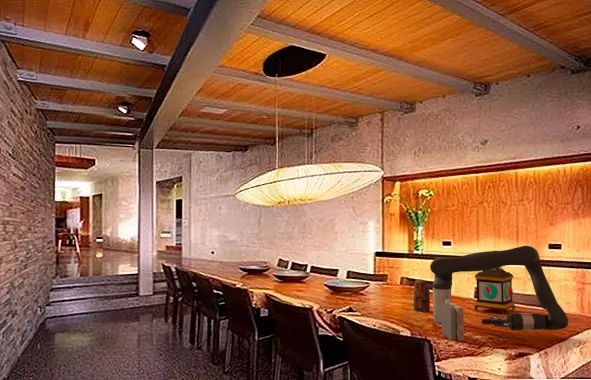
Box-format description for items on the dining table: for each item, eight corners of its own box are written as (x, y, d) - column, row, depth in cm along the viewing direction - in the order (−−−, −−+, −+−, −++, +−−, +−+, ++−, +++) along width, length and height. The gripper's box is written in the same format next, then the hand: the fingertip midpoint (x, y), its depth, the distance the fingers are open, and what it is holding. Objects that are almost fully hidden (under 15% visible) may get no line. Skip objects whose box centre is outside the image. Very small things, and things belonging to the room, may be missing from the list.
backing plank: (440, 331, 226) (439, 299, 227) (450, 331, 226) (449, 299, 226) (451, 340, 209) (450, 305, 210) (462, 340, 209) (461, 305, 210)
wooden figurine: (409, 309, 281) (409, 278, 282) (417, 308, 284) (416, 278, 286) (425, 312, 271) (424, 281, 272) (432, 311, 275) (432, 280, 276)
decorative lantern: (518, 310, 277) (516, 259, 279) (507, 315, 263) (505, 261, 265) (483, 306, 291) (482, 257, 293) (471, 311, 276) (470, 259, 278)
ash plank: (447, 332, 222) (447, 302, 223) (452, 332, 222) (451, 302, 223) (459, 340, 206) (458, 308, 207) (463, 340, 206) (463, 308, 207)
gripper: (513, 310, 221) (476, 310, 221) (527, 316, 208) (487, 316, 208) (514, 326, 220) (476, 326, 221) (527, 333, 207) (488, 333, 207)
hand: (482, 321), depth 214 cm, fingers closed
